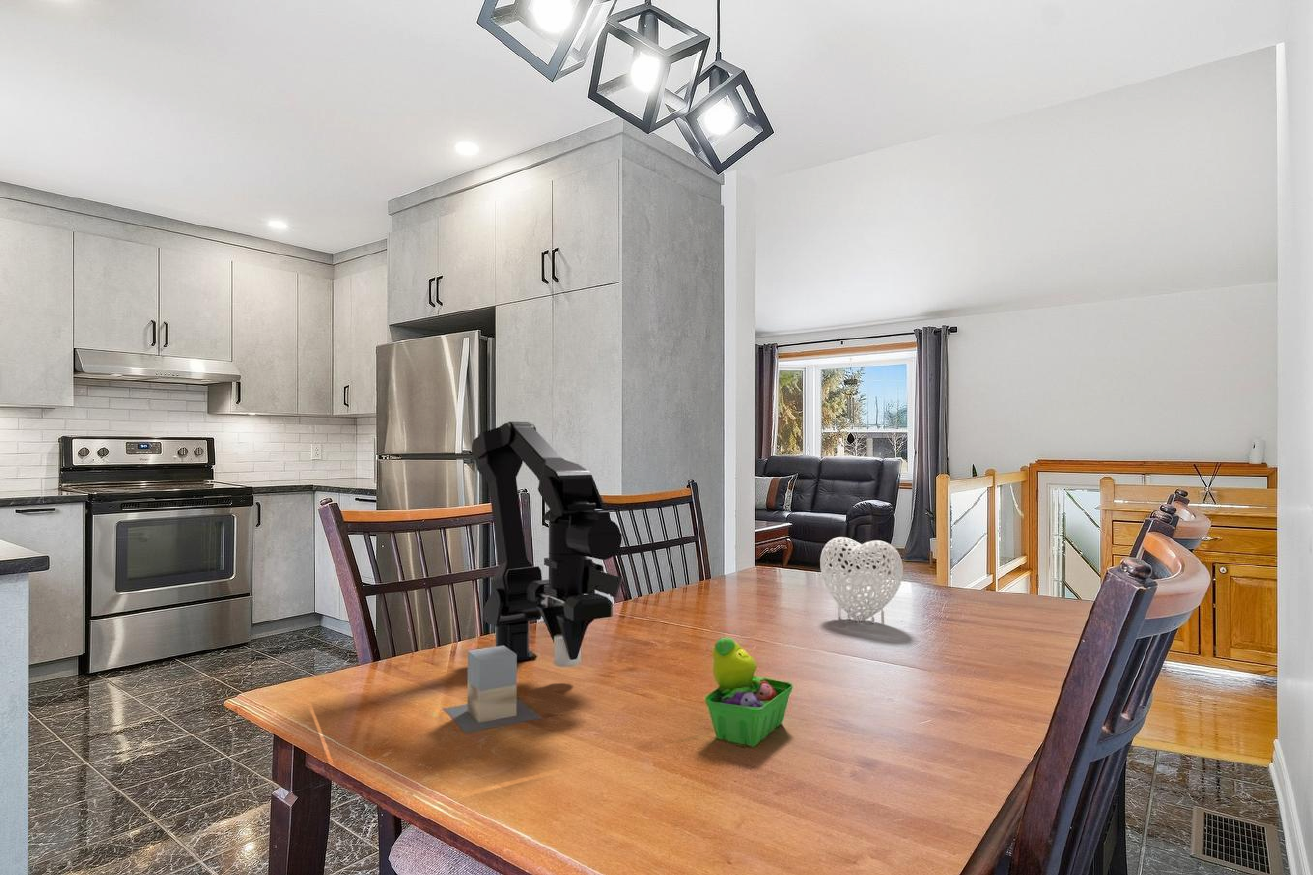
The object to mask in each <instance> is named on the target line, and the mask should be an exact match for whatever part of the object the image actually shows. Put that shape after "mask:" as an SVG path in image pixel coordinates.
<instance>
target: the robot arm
mask: <svg viewBox="0 0 1313 875" xmlns="http://www.w3.org/2000/svg"><path fill="white" fill-rule="evenodd" d="M471 453H472V456H473V458H474V461H475V466H476V470H477V472H478V473H479V474H480V475H481V476H482V478H483V479H484V480H485V481H486V483H487V485H488V490H489V499H490V506H491V513H492V514H491V515H492V521H493V528H494V529H493V530H494V535H495V537H494V538H495V544H496V551H497V557H498V558H497V559H498V567H497V569H496V570H495V573H494V576H493V577H492V580H491V593H490V594H489V597H488V599H487V601H486V603H485V604H484V606H483V608H482V614H483V621H484V623H487V624H489V625H492V626H494V627H495V636H494V637H495V644H494V645H495V646H494V647H497V646H505V647H507V648H508V649H510V650H511V651H513V652H514V653H516V654H517V662H520V661H526V660H532V659H533V660H534V659H537V657H538V656H537V654H536V653H534V652H533V651H531V650H530V636H531V634H530V632H531V631H530V630H531V628H530V625H531V624H530V621H536V620H537V621H539V620H541V619H543V622H544V624H545V626H546V628H547V630H548V632H549V636H550V637H551V640H552V642H553V643H554V636H555V635H557V634H562V636H563V640H564V643H565V646H566V650H567V653H568V656H569V659H571V660H574V659H577V658H578V654H579V651H580V648H581V649H582V644H583V641H584V637H585V635H586V633H587V629H588V626H589V625H590V624H591V623H592V622H593V621H595V620H597V619H598V620H600V619H606V618H612V617H613V616H614V602H612V600H611V599H609V597H607V596H605V595H609V596H610V597H613V598H617V597H618V594H619V591H620V587H621V584H622V583H623V582H622V581H623V577H620V576H617V575H614V574H611V573H608V572H605V571H604V565H603V564H600V563H596V562H594V561H593V559H598V560H601V561H602V560H603V561H606V560H609V559H611V558H613V557H614V556H616V554H617V553H618V552H619V550H620V548H621V545H622V541H623V538H622V536H623V534H622V533H621V529H620V527H619V525H618V524H616V522H614V521H613V520H612V519H611V513H610V511H609V510H606V507H605V500H603V498H602V496H601V495H600V492H599V490H598V487H597V485H596V481H595V480H594V477H593V475H592V473H591V472H590V471H589V470H588V469H586V468H585V467H583V466H582V465H581V464H579V463H576V462H573V461H570V460H566V459H565V458H563V457H562V456H561V455H560V454H559V453H558V452H557V451H556V450H555V449H554V448H553V446H551V444H549V443H548V442H547V441H546V439H545V438H544V437H543V436H542V435H541V434H540V433H539V432H538V431H537V428H536V426H535V424H534V423H531V422H529V421H508V422H505V423H503V424H501V425H500V426H499V427H495V428H492V429H488V430H486V431H484V432H480V433H479V434H478V436H476V437H475V438H474V439H473V441H472V446H471ZM523 463H524V464H525V465H526V466H527V468H529V469H530V471H531V472H532V474H534V476H536V478H537V480H538V482H539V483H538V486H537V491H538V493H539V496H541V498H542V500H543V501H544V503H545V505H547V508H549V510H548V511H546V512H545V513H544V515H543V516H542V518H543V520H544V521H548V557H544V558H543V565H544V566H546V567H548V579H543V577H542V576H543V575H542V570H541V568H540V566H538V565H536V566H534V565H533V563H531V561H530V560H529V558H528V554H527V546H526V539H525V532H524V524H523V518H522V511H521V510H522V509H521V505H520V495H519V492H518V491H519V489H518V483H517V482H518V481H517V477H518V475H519V472H520V471H521V468H522V466H523ZM596 591H597V593H596ZM600 593H603V594H605V595H603V594H600Z"/></svg>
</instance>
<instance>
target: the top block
mask: <svg viewBox="0 0 1313 875" xmlns="http://www.w3.org/2000/svg"><path fill="white" fill-rule="evenodd" d="M517 662H518V661H517V654H516V653H514V652H513V651H511V650H510V649H508V648H507V647H505V646H497V647H495V646H492V647H484V648H479V649H478V648H477V649H471V650H467V683H468V682H470V683H471V684H472V685H473V686H474V687H475V688H476V689H477V690H478V691H484V690H490V689H495V688H501V687H507V686H513V685H517V683H518V682H517V678H518V676H517V674H518V673H517V672H518V671H517V669H518V668H517Z"/></svg>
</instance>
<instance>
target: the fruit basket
mask: <svg viewBox="0 0 1313 875" xmlns="http://www.w3.org/2000/svg"><path fill="white" fill-rule="evenodd" d="M712 658H713V668H712V670H713V675H714V679H715V681H716V683H717V684H718V686H719V687H718V688H716V689H715V690H713V691H712V692H710V693H708V694H707V695H705V696H704V700H705V704H706V706H707V707H708V708H707V709H708V712H709V716H710V719H711V722H712V726H713V729H714V732H715V734H714V735H715V737H716V739H719V740H725V741H728V742H731V743H735V744H736V743H737V744H740V745H747V746H749V747H756V746H757V745H758V744H759V743H760V741H763V740H764V739H765V738H766V737H767V736H768V735H769V734H771V733H772V732H774V730H776V728H778V727H779V726H781V725H782V724H783V720H784V717H785V713H786V710H787V705H788V701H789V698H790V695H791V693H792V690H793V687H794V684H793V683H791V682H789V681H783V680H777V679H774V678H773V679H772V678H767V677H762V676H757V675H755V674H756V673H755V672H756V669H757V662H756V660H755V659H754V657H753V656H751V655H750V654H749V653H748V652H747V651H746V650H745V649H744V648H743V647H742V646H740V645H739V644H738V643H737V642H736V641H734V639H732V638H730V637H724V638H723V637H722V638H721V637H720V638H718V639H717V641H716V642H715V644H714V648H713V651H712Z"/></svg>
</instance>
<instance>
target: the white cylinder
mask: <svg viewBox="0 0 1313 875" xmlns="http://www.w3.org/2000/svg"><path fill="white" fill-rule="evenodd" d="M581 650H582V647H581V648H580V651H579V654H578V658H577V659H574V660H571V659H569V656H568V653H567V650H566V646H565V643H564V640H563V636H562V634H557V635H555V636H554V642H553V665H554V666H556V667H561V668H569V667H570V668H571V667H575V666H578V665H579V666H580V665H581V664H582V663H581V662H582V661H581V660H582V658H581V656H582V655H581V654H582V653H581V652H582V651H581Z"/></svg>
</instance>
